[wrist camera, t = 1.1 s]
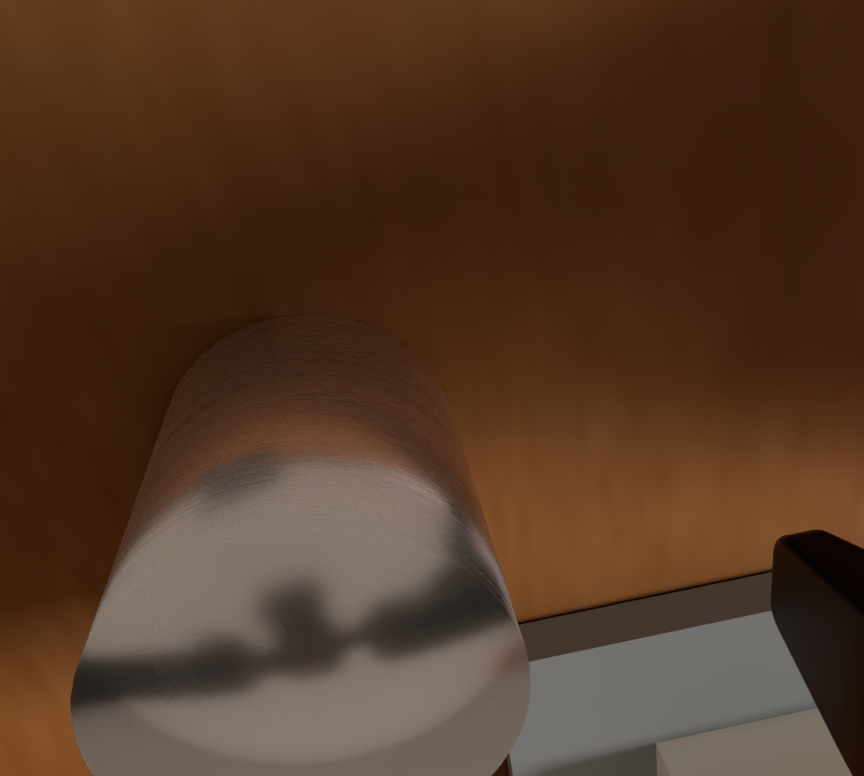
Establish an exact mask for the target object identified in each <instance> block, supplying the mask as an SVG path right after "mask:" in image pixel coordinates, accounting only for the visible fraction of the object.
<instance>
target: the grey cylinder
mask: <svg viewBox="0 0 864 776" xmlns="http://www.w3.org/2000/svg"><path fill="white" fill-rule="evenodd" d="M530 691H531V680H530V666H529V661H528V657H527V652H526V648H525V644H524V641H523V638H522V635H521V632H520V628H519V625H518V622H517V619H516V616H515V613H514V609H513V606H512V603H511V600H510V597H509V593H508V590H507V587H506V584H505V581H504V577H503V574H502V571H501V568H500V565H499V561H498V558H497V555H496V552H495V549H494V546H493V542H492V539H491V536H490V533H489V530H488V526H487V523H486V520H485V517H484V514H483V510H482V507H481V504H480V501H479V498H478V495H477V491H476V488H475V485H474V482H473V479H472V475H471V472H470V469H469V466H468V463H467V459H466V456H465V453H464V450H463V447H462V443H461V440H460V437H459V434H458V431H457V428H456V424H455V421H454V418H453V415H452V412H451V408H450V405H449V403H448V400H447V398H446V395H445V393H444V390H443V388H442V386H441V385H440V383H439V381H438V380H437V378H436V376H435V374H434V373H433V372H432V371H431V369H430V368H429V367H428V366H427V364H426V363H425V362H424V361H423V360H422V359H421V358H420V357H419V356H418V355H417V354H416V353H415V352H414V351H413V350H412V349H411V348H409V347H408V346H406V345H405V344H404V343H402V342H401V341H400V340H398V339H397V338H395V337H394V336H392V335H390V334H388V333H386V332H384V331H382V330H380V329H379V328H376V327H374V326H371V325H368V324H366V323H363V322H360V321H357V320H353V319H349V318H345V317H340V316H332V315H324V314H296V315H288V316H280V317H275V318H271V319H267V320H263V321H259V322H257V323H254V324H251V325H249V326H246V327H244V328H241V329H239V330H237V331H235V332H233V333H232V334H230V335H228V336H226V337H224V338H222V339H221V340H220V341H218V342H217V343H216V344H214V345H213V346H212V347H210V348H209V349H207V350H206V351H205V352H204V353H203V354H202V355H201V356H200V357H199V358H198V359H197V360H196V361H195V362H194V363H193V364H192V365H191V367H190V368H189V369H188V371H187V372H186V373H185V375H184V376H183V377H182V379H181V380H180V382H179V384H178V386H177V388H176V389H175V391H174V393H173V396H172V398H171V401H170V404H169V406H168V409H167V412H166V415H165V418H164V421H163V423H162V426H161V429H160V432H159V435H158V438H157V441H156V443H155V446H154V449H153V452H152V455H151V458H150V461H149V464H148V466H147V469H146V472H145V475H144V478H143V481H142V484H141V486H140V489H139V492H138V495H137V498H136V501H135V504H134V506H133V509H132V512H131V515H130V518H129V521H128V524H127V527H126V529H125V532H124V535H123V538H122V541H121V544H120V547H119V549H118V552H117V555H116V558H115V561H114V564H113V567H112V570H111V572H110V575H109V578H108V581H107V584H106V587H105V590H104V592H103V595H102V598H101V601H100V604H99V607H98V610H97V613H96V615H95V618H94V621H93V624H92V627H91V630H90V633H89V635H88V638H87V641H86V644H85V647H84V650H83V653H82V656H81V658H80V661H79V664H78V667H77V670H76V673H75V676H74V682H73V688H72V694H71V721H72V726H73V730H74V735H75V739H76V743H77V745H78V748H79V750H80V752H81V755H82V757H83V759H84V762H85V763H86V765H87V767H88V768H89V770H90V771H91V773H92V774H93V776H492V775H493V774H494V772H495V771H496V770H497V769H498V768H499V767H500V765H501V764H502V763H503V761H504V760H505V758H506V757H507V755H508V754H509V752H510V751H511V749H512V748H513V746H514V744H515V742H516V740H517V738H518V736H519V734H520V732H521V730H522V727H523V723H524V720H525V717H526V714H527V711H528V705H529V698H530Z"/></svg>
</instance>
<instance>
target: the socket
mask: <svg viewBox="0 0 864 776" xmlns="http://www.w3.org/2000/svg"><path fill="white" fill-rule="evenodd" d="M771 581H772V572H770V573H765V574H760V575H756V576H751V577H746V578H741V579H736V580H732V581H727V582H722V583H717V584H712V585H708V586H703V587H698V588H693V589H688V590H684V591H679V592H674V593H669V594H664V595H659V596H655V597H650V598H645V599H640V600H635V601H631V602H626V603H621V604H616V605H611V606H607V607H602V608H597V609H592V610H587V611H583V612H578V613H573V614H568V615H563V616H559V617H554V618H549V619H544V620H539V621H535V622H530V623H525V624H520V625H519V628H520V632H521V635H522V638H523V641H524V644H525V648H526V652H527V657H528V661H529V666H530V680H531V691H530V698H529V705H528V711H527V714H526V717H525V720H524V723H523V727H522V730H521V732H520V734H519V736H518V738H517V740H516V742H515V744H514V746H513V748H512V749H511V751H510V752H509V754H508V755H507V763H508V770H509V776H852V774H851V773H850V771H849V769H848V767H847V765H846V763H845V761H844V759H843V757H842V756H841V754H840V752H839V750H838V748H837V746H836V744H835V742H834V740H833V738H832V736H831V734H830V732H829V730H828V728H827V726H826V724H825V722H824V720H823V718H822V716H821V714H820V712H819V710H818V708H817V706H816V704H815V702H814V700H813V698H812V696H811V694H810V692H809V690H808V688H807V686H806V684H805V682H804V680H803V678H802V676H801V674H800V672H799V670H798V668H797V666H796V664H795V662H794V660H793V658H792V656H791V654H790V652H789V650H788V648H787V646H786V644H785V642H784V640H783V638H782V636H781V634H780V632H779V630H778V628H777V626H776V624H775V621H774V618H773V614H772V610H771V603H770V597H771Z"/></svg>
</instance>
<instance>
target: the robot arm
mask: <svg viewBox="0 0 864 776" xmlns="http://www.w3.org/2000/svg"><path fill="white" fill-rule="evenodd" d="M770 603H771V610H772V614H773V618H774V621H775V624H776V626H777V628H778V630H779V632H780V634H781V636H782V638H783V640H784V642H785V644H786V646H787V648H788V650H789V652H790V654H791V656H792V658H793V660H794V662H795V664H796V666H797V668H798V670H799V672H800V674H801V676H802V678H803V680H804V682H805V684H806V686H807V688H808V690H809V692H810V694H811V696H812V698H813V700H814V702H815V704H816V706H817V708H818V710H819V712H820V714H821V716H822V718H823V720H824V722H825V724H826V726H827V728H828V730H829V732H830V734H831V736H832V738H833V740H834V742H835V744H836V746H837V748H838V750H839V752H840V754H841V756H842V757H843V759H844V761H845V763H846V765H847V767H848V769H849V771H850V773H851V774H852V776H864V549H863V548H861V547H858V546H856V545H854V544H852V543H850V542H848V541H846V540H843V539H841V538H839V537H837V536H835V535H833V534H831V533H828V532H826V531H823V530H809V531H805V532H800V533H795V534H790V535H785V536H782V537H781V538H779V539H778V540H777V541H776V543H775V546H774V551H773V566H772V581H771V597H770Z"/></svg>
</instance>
